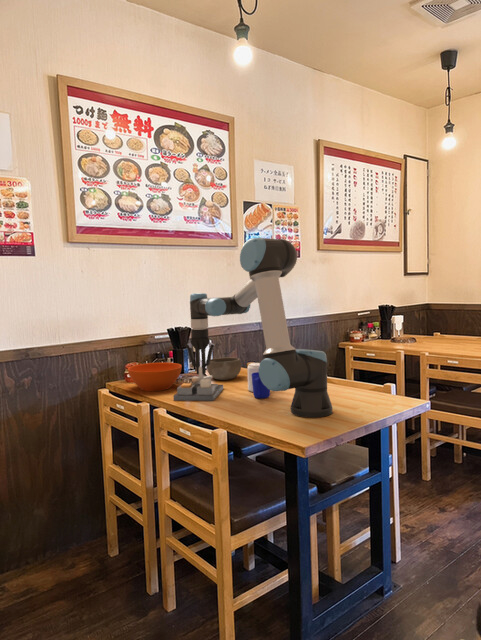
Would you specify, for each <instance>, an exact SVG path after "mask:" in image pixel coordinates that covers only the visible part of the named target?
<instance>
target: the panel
mask: <svg viewBox="0 0 481 640" xmlns="http://www.w3.org/2000/svg"><path fill="white" fill-rule="evenodd" d="M181 385H182V384H180V385H178V387H177V388H176V393H175V394H174V395H173V396H172V397H173V401H178V402H179V401H183V402H184V401H185V402H186V401H187V402H188V401H189V402H190V401H191V402H196V401H197V402H202V401H203V402H214V401H215V400H216V398H217V397H218V396H219V395H220V394H221V392H222V391H224V384H218V383H211V387H210V388H201V386H199V387H196V385H192V386H191V387H190V388H181Z"/></svg>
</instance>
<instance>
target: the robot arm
mask: <svg viewBox="0 0 481 640" xmlns="http://www.w3.org/2000/svg"><path fill="white" fill-rule="evenodd" d="M297 260H298V253H297V250H296V247H295V246H294V244H293V243H292V242H290V241H289V240H287V239H283V238H268V237H267V238H266V237H254V238H249V239H248V240H246V241H245V242H244V243H243V245H242V247H241V249H240V253H239V263H240V267H241V268H242V269H243V271H245V272H247V273H248V274H249V280H248V281H247V282H246V283H245V284H244V285H243V286H242V287H241V288H239V290H238V291H237V292H235V294H233V295H232V296H227V297H225V296H224V297H208V294H207V293H205V292H200V293H190V296H189V307H190V308H189V311H190V328H191V330H190V333H191V335H190V336H191V338H190V342H189V343H187V344H186V345H185V348H186V349H187V351H188V355H189V358H190V362H191V366H192V367H195V368H196V375H198V377H199V382H200V381H201V380H202V379H204V377H205V376H204V375H206V373H207V371H206V370H207V366H208V365H209V364H210V360H211V359H212V355H213V350H214V348H215V343H212V342H211V341H210V337H209V329H208V328H209V317H210V316H211V317H220V316H228V315H242V314H247V313H248V312H249V311H250V309H251V304H252V303H253V302H254V301H255V300H256V299H257V302H258V308H259V313H260V320H261V325H262V326H261V327H262V332H263V333H262V334H263V338H264V343H265V350H264V352H263V353H262V357H263V359H262V360H261V361H260V362H259V363H260V366H259V376H260V379H261V381H262V383H263V384H264V386H266V387H267V388H268V389H269V390H270V392H285V391H287V390H291V389H294V394H293V397H292V400H291V404H290V413H291V414H292V415H294V416H297V417H300V418H301V417H302V418H309V419H310V418H325V417H327V416H331V415H332V414H333V405H332V402H331V399H330V396H329V393H328V359H327V354H326V352H325V351H322V350H314V349H303V348H296V347H294V346H293V345H291V341H290V340H291V338H290V335H289V329H288V323H287V317H286V312H285V306H284V300H283V296H282V289H281V284H280V278H284V277H286V276H287V275H288V274H289V273H290V272H291V271H292V270H293V269H294V268H295V266H296V264H297ZM192 347H193V348H192ZM206 348H209V349H208V352H207V357H206ZM193 349H194V350H193ZM193 351H194V352H195V355H194V352H193ZM200 353H201V354H200ZM200 357H201V358H200ZM330 414H331V415H330ZM324 416H325V417H324Z"/></svg>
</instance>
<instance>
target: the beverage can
mask: <svg viewBox="0 0 481 640" xmlns="http://www.w3.org/2000/svg"><path fill="white" fill-rule="evenodd" d="M259 366H260V362H251V363H249V364H248V366H247V390H248V391H250V392H251V393H253V384H252V373H256V372H259Z"/></svg>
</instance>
